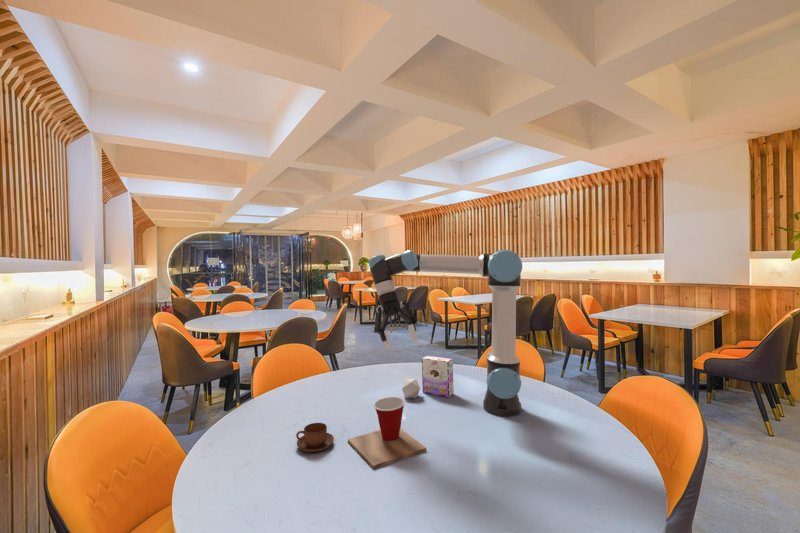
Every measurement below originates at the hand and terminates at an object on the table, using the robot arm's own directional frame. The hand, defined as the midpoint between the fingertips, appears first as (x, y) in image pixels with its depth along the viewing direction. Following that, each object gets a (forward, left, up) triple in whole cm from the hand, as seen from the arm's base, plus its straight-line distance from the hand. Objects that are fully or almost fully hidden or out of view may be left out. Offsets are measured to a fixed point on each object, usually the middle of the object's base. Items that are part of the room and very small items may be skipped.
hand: (402, 344), depth 137 cm
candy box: (-28, -15, -29) cm, 43 cm away
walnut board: (+16, +15, -29) cm, 36 cm away
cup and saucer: (+36, +2, -29) cm, 46 cm away
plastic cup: (+13, +12, -28) cm, 33 cm away
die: (-15, -18, -29) cm, 37 cm away
